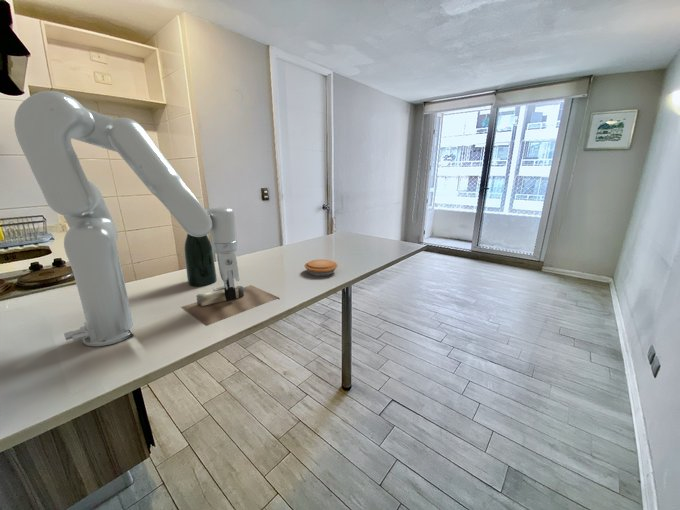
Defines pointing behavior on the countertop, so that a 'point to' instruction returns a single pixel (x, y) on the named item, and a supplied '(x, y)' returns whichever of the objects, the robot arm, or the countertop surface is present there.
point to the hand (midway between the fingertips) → (230, 298)
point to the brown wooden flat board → (229, 305)
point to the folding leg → (217, 296)
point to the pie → (321, 267)
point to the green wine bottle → (199, 261)
